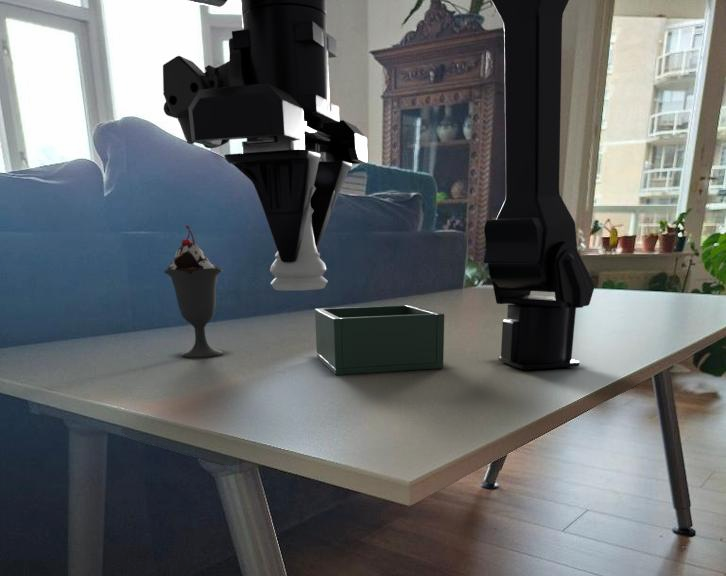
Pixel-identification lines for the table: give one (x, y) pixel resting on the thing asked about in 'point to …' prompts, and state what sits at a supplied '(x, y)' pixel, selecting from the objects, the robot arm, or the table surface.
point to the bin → (379, 339)
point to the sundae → (195, 292)
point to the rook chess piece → (301, 264)
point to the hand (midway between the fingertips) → (298, 261)
